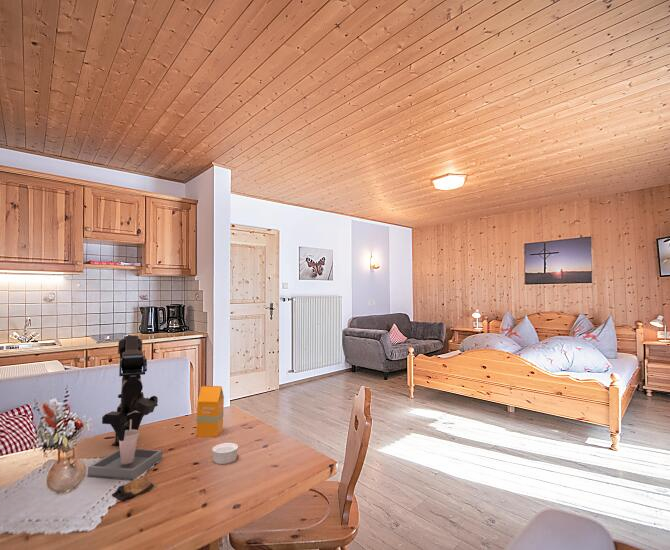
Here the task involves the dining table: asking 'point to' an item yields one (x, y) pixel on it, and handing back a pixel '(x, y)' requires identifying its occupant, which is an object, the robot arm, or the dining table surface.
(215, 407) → the orange juice
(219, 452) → the ramekin
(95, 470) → the gray square tray
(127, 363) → the robot arm
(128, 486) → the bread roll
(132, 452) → the smoothie
